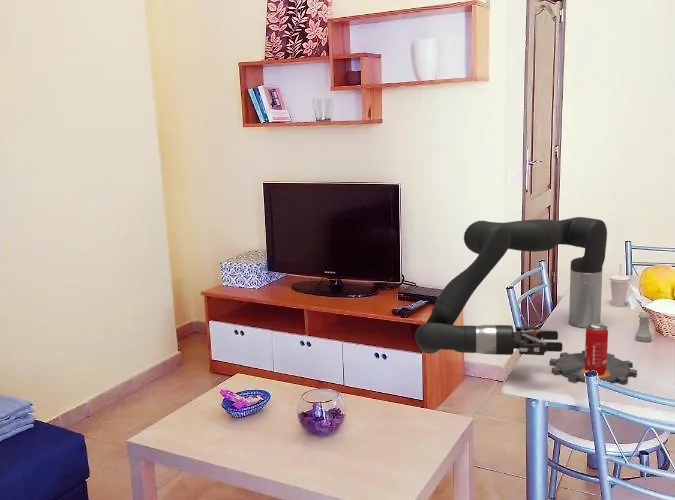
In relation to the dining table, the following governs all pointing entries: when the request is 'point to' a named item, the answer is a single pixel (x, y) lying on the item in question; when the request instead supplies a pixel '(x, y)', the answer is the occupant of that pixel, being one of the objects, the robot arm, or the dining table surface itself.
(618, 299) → the smoothie
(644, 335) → the rook chess piece
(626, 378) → the sprocket
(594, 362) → the beverage can
